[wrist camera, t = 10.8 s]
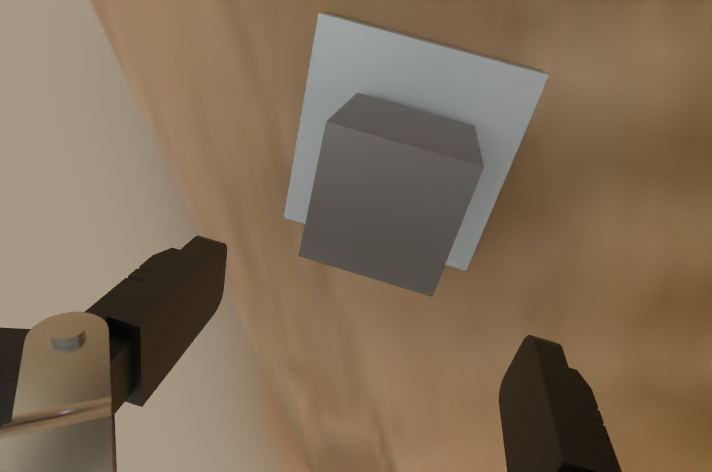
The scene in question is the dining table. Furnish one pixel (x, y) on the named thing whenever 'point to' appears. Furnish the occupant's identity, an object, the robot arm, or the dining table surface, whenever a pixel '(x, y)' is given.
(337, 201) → the block
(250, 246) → the dining table surface
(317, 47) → the post base
